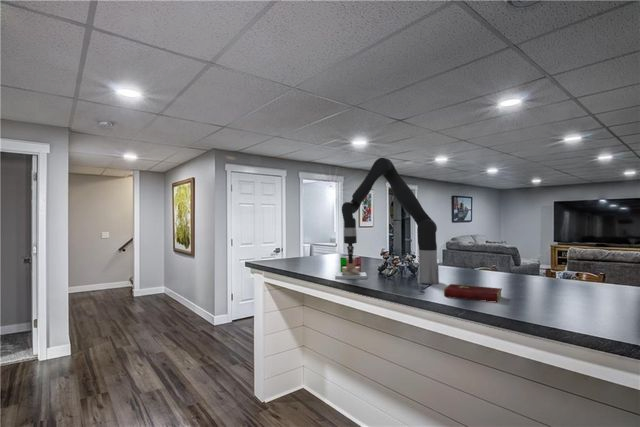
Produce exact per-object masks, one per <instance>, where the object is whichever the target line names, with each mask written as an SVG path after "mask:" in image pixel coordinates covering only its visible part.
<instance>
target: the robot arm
mask: <svg viewBox="0 0 640 427" xmlns="http://www.w3.org/2000/svg"><path fill="white" fill-rule="evenodd" d="M382 176H383V177H384V178H385V180H386V181H387V182H388V184H389V186H390V188H391V191H392V194H393V196H394V197H395V199H396V201H397V202H398V203H399V205H400V206H401V207H402V208H403V210H404V211H406V213H408V215H409V216H411V217H412V219H413V220H414V222H415V223H416V225H417V232H416V233H417V245H418V271H419V272H418V277H419V278H418V279H419V280H418V281H419V283H421V284H426V285H427V284H429V285H430V284H431V285H432V284H439V282H440V280H439V276H440V275H439V272H440V271H439V264H438V245H437V244H438V243H437V230H438V226H437V224H436V222H435V221H434V220H433V219H432V218H431V217H430V216H429V215H428V213H427V212H426V211H425V210H424V208H423V207H422V205H421V203H420V202H419V200H418V198H417V197H416V195H415V194H414V192H413V191H412V189H411V188H410V187H409V185H408V184H407V183H406V182H405V181H404V179H403V178H402V176H400V174H399V173H398V171H397V169H396V167H395V165H394V163H393V162H392V161H391V160H390V159H389V158H386V157H378V158H377V159H376V160H374V162H373V164H372V166H371V168H370V169H369V171H368V173H367V174H366V176H365V178H364V179H363V181H362V182H361V183H360V184H359V186H358V187H357V188H356V189H355V191H354V192H353V194H352V196H351V197H352V199H351V201H345V202H343V204H342V205H341V213H342V219H343V222H344V223H343V243H344V244H345V245H346V244H347V246H346V250H347V256H348V257H349V264H352V263H353V259H352V257H353V256H354V249H355V247H354V245H353V244H357V242H358V241H357V222H356V218H355V217H354V215H353V214H355V213H357V212H358V210H359V208H360V207H361V205H362V203H363V201H364V200H365V199H366V197H367V196H368V195H369V194H370V192H371V190H372V188H373V186H374V184H375V183H376V182H377V180H378V179H379V178H380V177H382Z"/></svg>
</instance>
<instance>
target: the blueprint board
mask: <svg viewBox="0 0 640 427" xmlns="http://www.w3.org/2000/svg"><path fill="white" fill-rule="evenodd" d="M334 276H335V280H363V279H364V280H367V279H368V278H367V273H366V272H362V271H361V272H359V275H342V272H341V271H340V272H339V271H337V272H335V275H334Z"/></svg>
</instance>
